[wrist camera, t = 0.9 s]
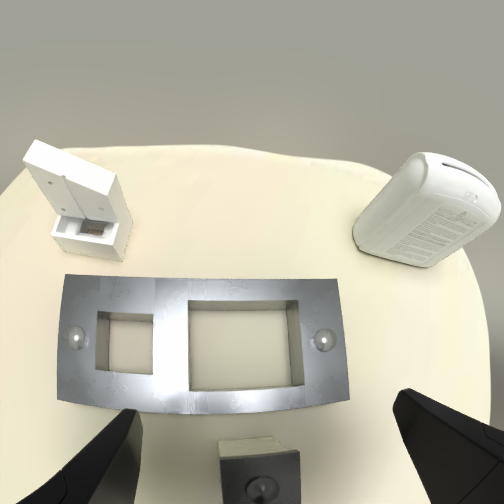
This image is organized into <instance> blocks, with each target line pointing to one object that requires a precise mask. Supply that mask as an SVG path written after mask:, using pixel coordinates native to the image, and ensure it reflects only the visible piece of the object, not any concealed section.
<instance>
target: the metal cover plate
mask: <svg viewBox="0 0 504 504" xmlns="http://www.w3.org/2000/svg"><path fill="white" fill-rule="evenodd" d="M189 310H286V311H287V324H288V336H289V350H290V364H291V379H292V385H286V386H275V387H261V388H244V389H191V383H190V333H189ZM110 320H123V321H141V322H153V375H148V374H134V373H122V372H111V371H108V369H109V331H110ZM57 400H62V401H67V402H72V403H78V404H83V405H89V406H96V407H103V408H110V409H118V410H123V409H125V408H129V409H136V410H137V411H138V412H150V413H167V414H236V413H254V412H266V411H277V410H287V409H295V408H303V407H310V406H317V405H323V404H329V403H335V402H340V401H345V400H350V395H349V381H348V368H347V357H346V347H345V337H344V328H343V320H342V312H341V304H340V297H339V290H338V283H337V279H189V278H148V277H118V276H94V275H72V274H65V279H64V286H63V293H62V301H61V310H60V320H59V333H58V350H57Z"/></svg>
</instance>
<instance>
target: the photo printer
mask: <svg viewBox="0 0 504 504" xmlns="http://www.w3.org/2000/svg"><path fill="white" fill-rule="evenodd" d="M500 211H501V203H500V201H499V199H498V195H497V193H496V191H495V189H494V187H493V186H492V185H491V184H490V183H489V181H488V180H487V179H486V178H485V177H483V176H482V175H481V174H480V173H479V172H477V171H475V169H473V168H471V167H470V166H468V165H466V164H464V163H462V162H460V161H458V160H455V159H452V158H450V157H447V156H444V155H439V154H435V153H428V152H418V153H415V154H413V155H412V156H411V157H410V158H409V159H408V160H407V161H406V162H405V164H404V165H403V166H402V167H401V168H400V169H399V171H398V172H397V173H396V174H395V175H394V176H393V177H392V179H391V180H390V181H389V182H388V183H387V184H386V185H385V187H384V188H383V189H382V190H381V191H380V192H379V194H378V195H377V196H376V197H375V198H374V199H373V200H372V201H371V203H370V204H369V205H368V206H367V207H366V208H365V209H364V211H363V212H362V213H361V214H360V215H359V217H358V221H357V222H356V223H355V225H354V227H353V237H354V240H355V243H356V244H357V246H359V249H360V250H362V251H364V252H366V253H369V254H372V255H376V256H379V257H383V258H387V259H390V260H394V261H398V262H402V263H406V264H410V265H414V266H419V267H431V266H433V265H435V264H437V263H438V262H440V261H441V260H443V259H444V258H446V257H448V256H449V255H451V254H452V253H454V252H455V251H457V250H459V249H460V248H462V247H463V246H465V245H466V244H467V243H469V242H470V241H472V240H473V239H475V238H476V237H478V236H479V235H481V234H482V233H484V232H485V231H486V230H488V229H489V228H491V227H492V226H493V225H494V224H495V222H496V221H497V219H498V217H499V214H500Z"/></svg>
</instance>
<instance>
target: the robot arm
mask: <svg viewBox="0 0 504 504" xmlns="http://www.w3.org/2000/svg"><path fill="white" fill-rule="evenodd" d="M393 413H394V416H395V419H396V422H397V425H398V427H399V430H400V433H401V436H402V439H403V442H404V444H405V446H406V449H407V451H408V453H409V455H410V457H411V459H412V461H413V464H414V466H415V468H416V470H417V472H418V475H419V477H420V479H421V481H422V484H423V486H424V488H425V491H426V493H427V495H428V497H429V500H430V502H431V504H504V431H502V430H499V429H496V428H494V427H491V426H489V425H487V424H484V423H482V422H480V421H478V420H475V419H473V418H471V417H469V416H467V415H465V414H462V413H460V412H458V411H456V410H454V409H452V408H450V407H447V406H445V405H443V404H441V403H439V402H437V401H435V400H433V399H431V398H429V397H427V396H425V395H423V394H421V393H419V392H417V391H415V390H413V389H410V388H407V389H404V390H401V391H400V392H399V393H398V395H397V397H396V400H395V402H394V404H393ZM142 435H143V427H142V423H141V419H140V416H139V413H138V411H137V410H136V409H129V408H125V409H123V410H122V411H121V412H120V413H119V414H118V415H117V416H116V417H115V418H114V419H113V420H112V421H111V422H110V423H109V424H108V425H107V426H106V427H105V428H104V429H103V430H102V431H101V432H100V433H99V434H98V435H97V436H96V437H94V438H93V439H92V440H91V441H90V442H89V443H88V444H87V445H86V446H85V447H84V448H83V449H82V450H81V451H80V452H79V453H78V454H77V455H76V456H75V457H73V458H72V459H71V460H70V461H69V462H68V463H67V464H66V465H65V466H64V467H63V468H62V470H59V471H58V472H57V473H56V474H55V475H54V476H53V477H52V478H51V479H49V480H48V481H47V482H46V483H45V484H44V485H42V486H41V487H40V488H38V489H37V490H35V491H34V492H33V493H31V494H30V495H28V496H27V497H25V498H24V499H22V500H21V501H19V502H18V503H16V504H134V500H135V494H136V489H137V483H138V478H139V472H140V462H141V447H142Z"/></svg>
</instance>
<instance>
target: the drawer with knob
mask: <svg viewBox="0 0 504 504" xmlns="http://www.w3.org/2000/svg"><path fill="white" fill-rule="evenodd" d="M218 452H219V465H220V478H221V489H222V500H223V504H301V479H300V452H299V451H298V450H288V449H287V448H286V447H285V446H283V445H282V444H281V443H279V442H278V441H277V440H276V439H274V438H273V437H261V438H249V439H233V440H218Z"/></svg>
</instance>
